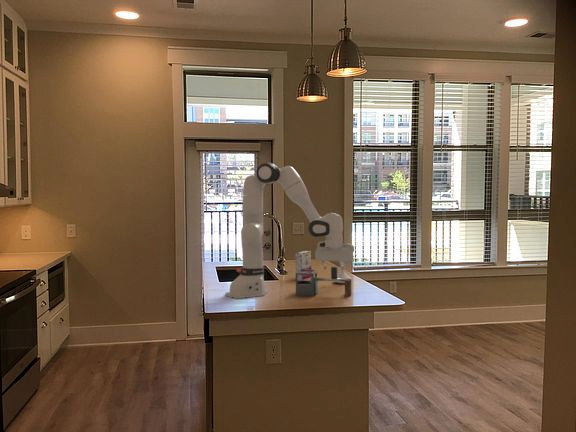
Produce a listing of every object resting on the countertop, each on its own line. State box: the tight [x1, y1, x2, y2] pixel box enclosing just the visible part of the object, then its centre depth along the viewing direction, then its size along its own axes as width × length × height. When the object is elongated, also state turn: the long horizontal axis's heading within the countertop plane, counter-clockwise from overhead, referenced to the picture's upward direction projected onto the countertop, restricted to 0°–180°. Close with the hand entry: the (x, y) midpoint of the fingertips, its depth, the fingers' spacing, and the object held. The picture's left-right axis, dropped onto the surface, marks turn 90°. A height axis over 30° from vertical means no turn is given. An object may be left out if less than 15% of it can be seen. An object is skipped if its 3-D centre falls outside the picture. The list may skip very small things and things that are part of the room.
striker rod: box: [309, 265, 348, 295], centre depth 266 cm, size 20×6×14 cm, turn 78°
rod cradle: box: [344, 278, 352, 297], centre depth 264 cm, size 3×5×8 cm, turn 168°
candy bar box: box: [294, 250, 313, 280], centre depth 317 cm, size 11×5×16 cm, turn 143°
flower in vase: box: [333, 261, 353, 284], centre depth 298 cm, size 13×11×25 cm
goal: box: [295, 269, 318, 297], centre depth 269 cm, size 10×12×12 cm
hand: (334, 269), depth 265 cm, fingers open, 8 cm apart
